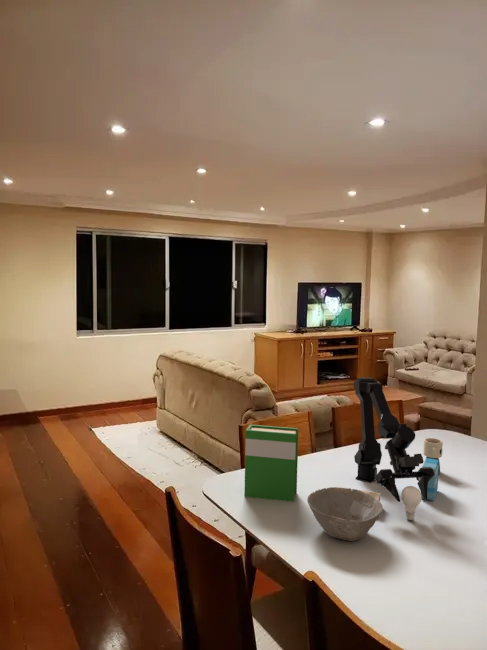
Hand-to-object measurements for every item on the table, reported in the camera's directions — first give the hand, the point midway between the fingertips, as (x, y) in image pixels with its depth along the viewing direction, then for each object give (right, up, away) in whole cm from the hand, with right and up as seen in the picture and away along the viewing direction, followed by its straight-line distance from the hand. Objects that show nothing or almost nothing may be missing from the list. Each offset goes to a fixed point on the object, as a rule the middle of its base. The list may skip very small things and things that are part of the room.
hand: (412, 500), depth 164 cm
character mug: (+22, -4, +45) cm, 50 cm away
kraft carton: (-12, -6, +9) cm, 16 cm away
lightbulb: (0, -7, +2) cm, 7 cm away
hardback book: (-45, -5, +19) cm, 49 cm away
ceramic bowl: (-24, -7, -8) cm, 26 cm away
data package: (+13, -5, +22) cm, 26 cm away
